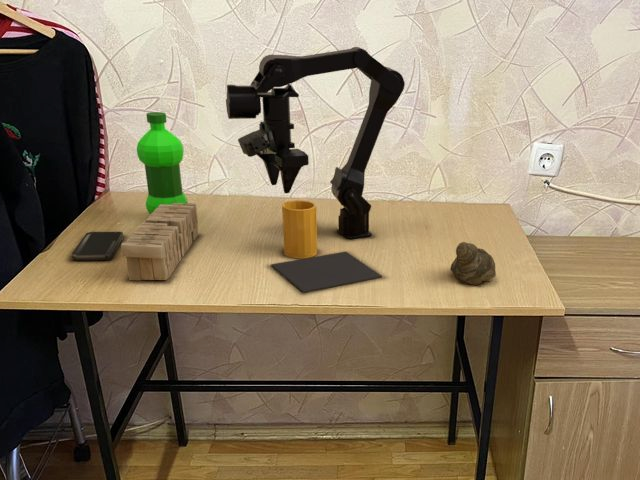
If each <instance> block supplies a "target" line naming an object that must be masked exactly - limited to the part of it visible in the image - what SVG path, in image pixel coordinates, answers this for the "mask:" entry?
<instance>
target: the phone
mask: <svg viewBox="0 0 640 480" xmlns="http://www.w3.org/2000/svg"><path fill="white" fill-rule="evenodd" d="M124 239H125V235H124V232H123V231H88V232H86V233H85V234H84V236H83V237H82V239H81V240H80V241H79V242H78V244H77V246H76V247H75V248H74V250H73V251H72V253H71V257H72V260H73V261H81V262H83V261H110V260H112V259H113V258H114V256H115V254H116V252H117V251H118V249H119V247H120V246H121V244H122V243H123V240H124Z"/></svg>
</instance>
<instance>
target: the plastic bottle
mask: <svg viewBox="0 0 640 480" xmlns="http://www.w3.org/2000/svg"><path fill="white" fill-rule="evenodd" d="M167 120H168V119H167V114H166V112H162V111H161V112H160V111H150V112H147V113H146V121H147V123H148V124H149V128H150V129H149V130H148V131H147V132H146V133H144V134H143V136H142V137H141V138H140V139H139V140H138V142H137V145H136V155H137V157H138V159H139V161H140V163H142V164H143V165H144V171H145V177H146V184H147V193H148V194H147V197H146V201H145V209H146V210H147V212H148V214H150V215H151V214H152V213H153V212H154V210H155V209H156V208H158V207H159V205H160V204H165V205H172V204H173V203H184V204H185V203H189V201H188V198H187V196H186V194H185V192H184V191H183V184H182V183H183V182H182V176H181V175H182V174H181V165H180V164H181V162H182V161H183V159H184V153H185V152H184V144H183V142H182V141H181V139H180V138H178V137H177V136H176V135H175V134H173V133H172V132H171V131H169V130H168V129H167V128H166V123H167V122H168V121H167Z"/></svg>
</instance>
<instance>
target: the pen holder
mask: <svg viewBox="0 0 640 480" xmlns="http://www.w3.org/2000/svg"><path fill="white" fill-rule="evenodd" d="M281 209H282V213H281V214H282V232H283V233H282V234H283V235H282V236H283V253H284V255H285V256H286V257H288V258H291V259H306V258H312V257H316V255H318V219H317V218H318V217H317V216H318V215H317V204H316V203H315V202H313V201H310V200H302V199H301V200H300V199H296V200H295V199H294V200H288V201H285V202H284V203H282V204H281Z"/></svg>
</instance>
